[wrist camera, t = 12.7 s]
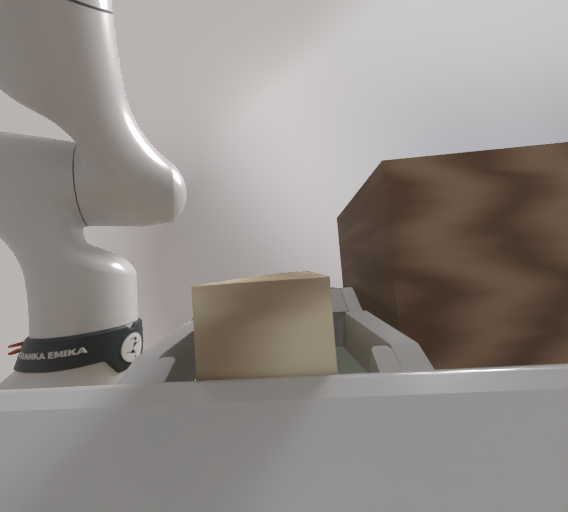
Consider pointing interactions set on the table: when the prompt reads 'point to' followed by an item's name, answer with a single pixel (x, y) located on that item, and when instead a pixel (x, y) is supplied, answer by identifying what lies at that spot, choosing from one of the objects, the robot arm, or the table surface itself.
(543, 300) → the walnut box
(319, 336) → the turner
